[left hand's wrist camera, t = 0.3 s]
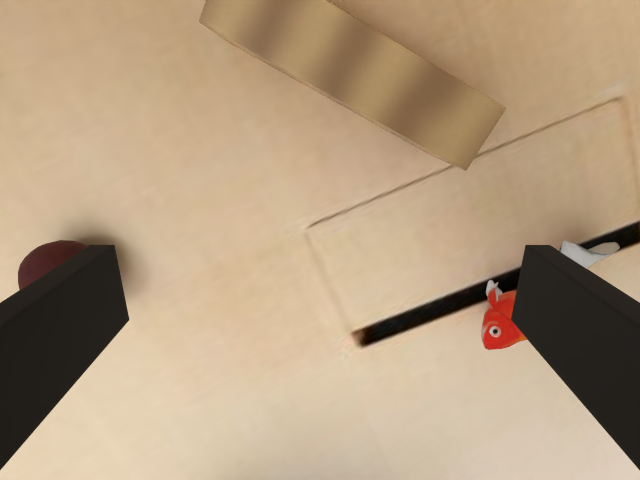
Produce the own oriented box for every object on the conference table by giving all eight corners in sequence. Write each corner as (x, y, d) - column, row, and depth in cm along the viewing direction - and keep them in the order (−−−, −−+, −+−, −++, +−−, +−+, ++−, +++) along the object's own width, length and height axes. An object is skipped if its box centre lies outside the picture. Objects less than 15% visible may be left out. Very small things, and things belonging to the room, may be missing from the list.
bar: (460, 107, 35) (506, 108, 27) (431, 155, 37) (466, 170, 28) (252, -16, 32) (227, -60, 23) (229, 42, 34) (198, 21, 25)
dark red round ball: (95, 220, 39) (49, 245, 32) (134, 285, 41) (99, 320, 35) (34, 245, 40) (-24, 274, 33) (76, 307, 42) (30, 345, 35)
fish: (450, 259, 35) (552, 328, 28) (562, 191, 40) (675, 235, 33) (447, 332, 42) (529, 403, 35) (543, 266, 47) (634, 317, 39)
